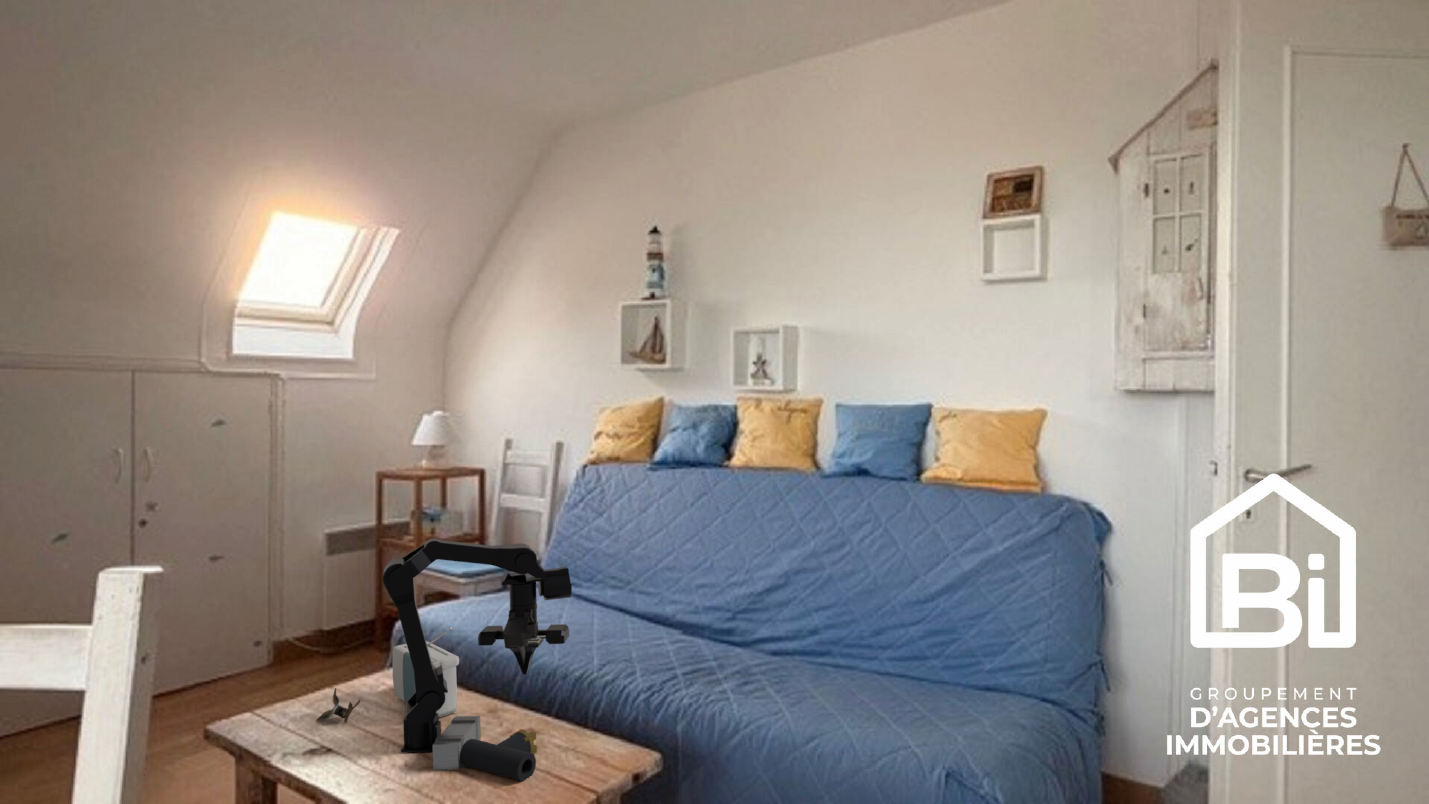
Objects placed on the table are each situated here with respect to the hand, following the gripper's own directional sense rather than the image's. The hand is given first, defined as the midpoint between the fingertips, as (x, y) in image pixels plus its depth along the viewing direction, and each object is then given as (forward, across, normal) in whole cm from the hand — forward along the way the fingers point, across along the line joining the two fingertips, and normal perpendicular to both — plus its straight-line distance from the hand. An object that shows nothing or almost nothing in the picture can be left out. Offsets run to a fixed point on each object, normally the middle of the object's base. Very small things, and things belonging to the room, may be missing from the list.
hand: (525, 673), depth 175 cm
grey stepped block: (+12, -11, -12) cm, 20 cm away
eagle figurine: (+12, -45, +7) cm, 47 cm away
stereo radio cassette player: (+12, -27, +14) cm, 33 cm away
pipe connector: (+13, +1, -17) cm, 21 cm away
